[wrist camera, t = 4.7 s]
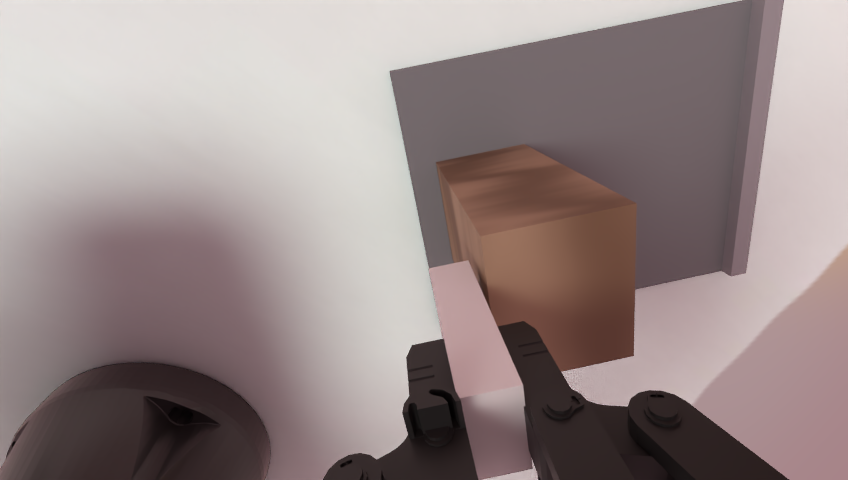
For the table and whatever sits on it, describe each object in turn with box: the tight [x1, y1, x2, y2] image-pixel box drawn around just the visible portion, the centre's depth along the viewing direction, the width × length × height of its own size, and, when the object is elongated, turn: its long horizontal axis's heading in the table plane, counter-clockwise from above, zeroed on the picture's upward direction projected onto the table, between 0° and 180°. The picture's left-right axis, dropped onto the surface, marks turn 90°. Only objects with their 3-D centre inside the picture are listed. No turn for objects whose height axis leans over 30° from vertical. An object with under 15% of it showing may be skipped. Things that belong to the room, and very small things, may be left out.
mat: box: [390, 0, 784, 289], centre depth 24 cm, size 20×16×1 cm
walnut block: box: [436, 144, 637, 372], centre depth 19 cm, size 5×6×11 cm
